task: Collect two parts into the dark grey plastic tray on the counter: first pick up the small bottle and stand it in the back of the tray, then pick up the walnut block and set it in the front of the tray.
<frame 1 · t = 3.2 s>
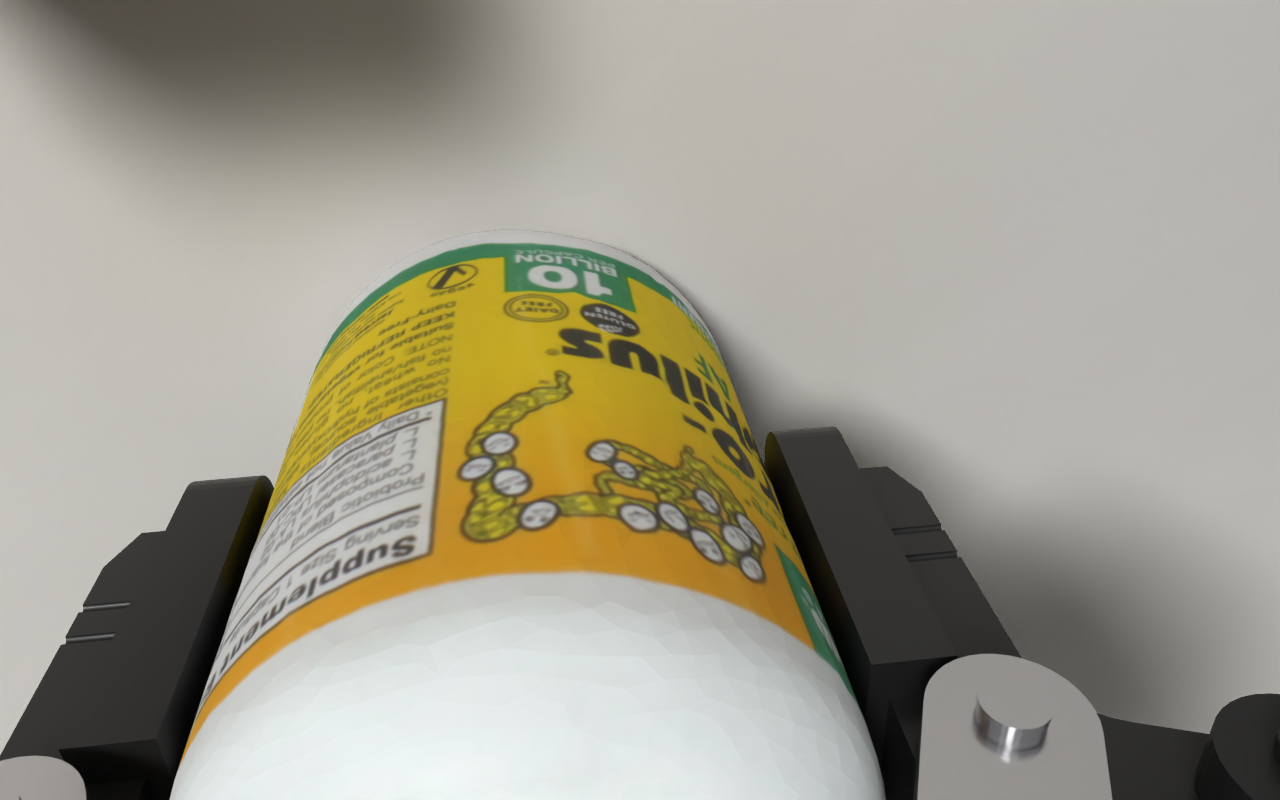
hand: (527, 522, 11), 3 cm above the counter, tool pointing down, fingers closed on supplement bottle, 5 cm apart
supplement bottle: (527, 400, 13), on the counter, touching gripper
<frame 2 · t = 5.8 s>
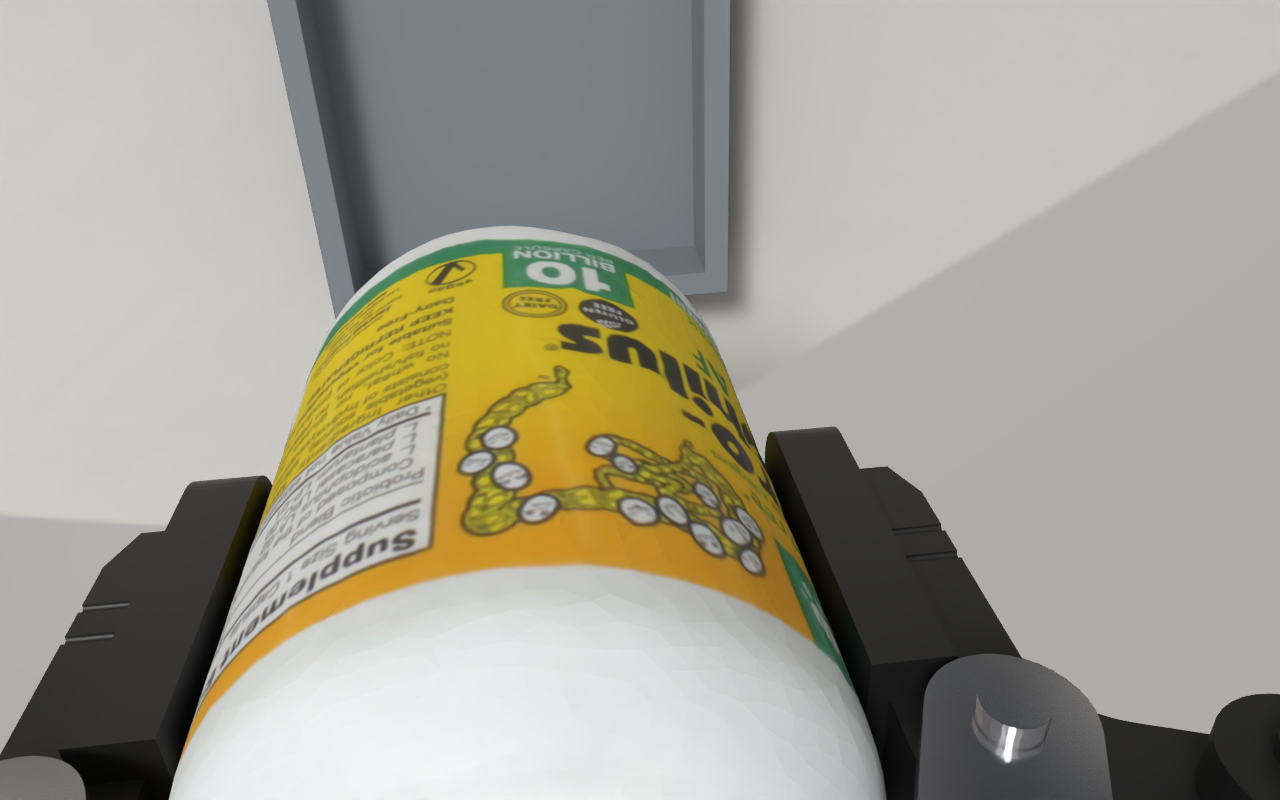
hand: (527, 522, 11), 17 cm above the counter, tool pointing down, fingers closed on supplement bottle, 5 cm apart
supplement bottle: (525, 396, 13), point 14 cm above the counter, touching gripper
when the fingers open (4 cm above the counter, at t = 8.7 s): supplement bottle stays where it is, resting on tray.
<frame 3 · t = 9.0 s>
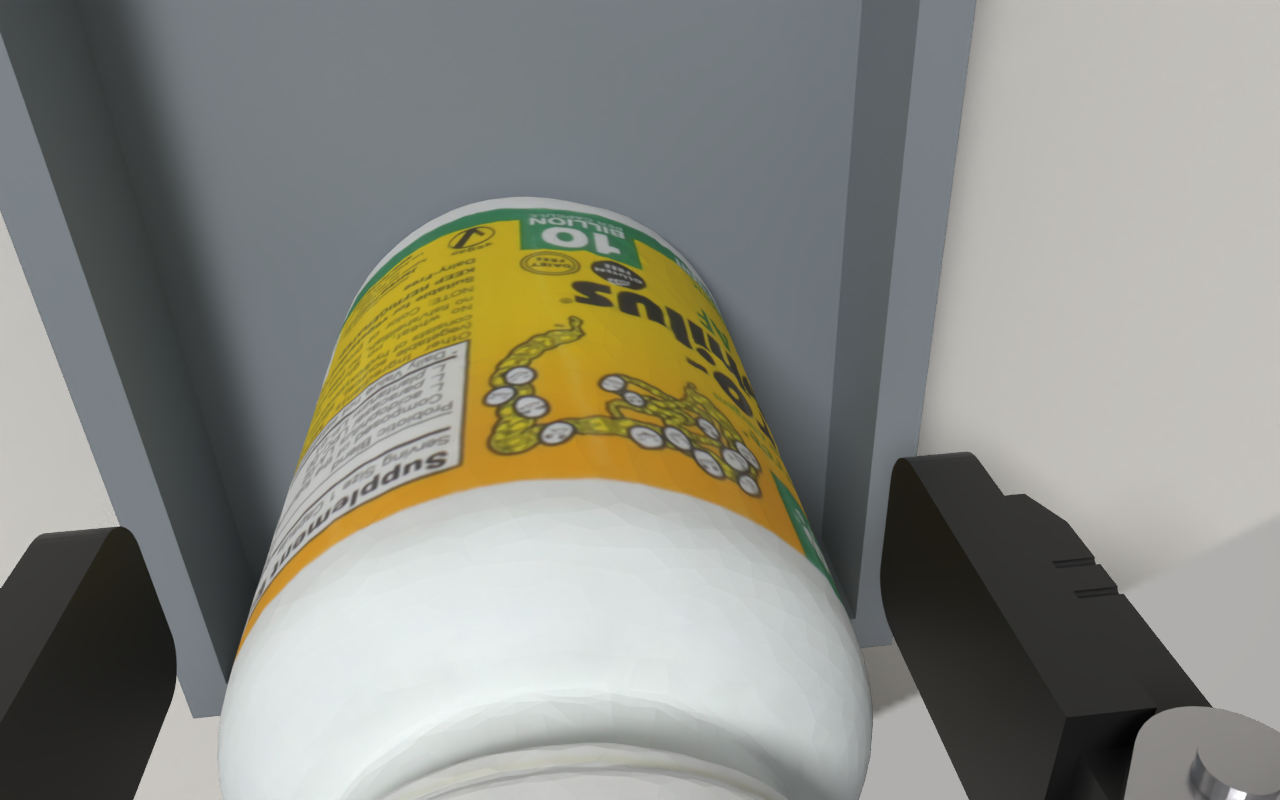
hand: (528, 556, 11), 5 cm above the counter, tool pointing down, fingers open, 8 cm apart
supplement bottle: (539, 361, 14), resting on tray
tray: (499, 113, 13), on the counter
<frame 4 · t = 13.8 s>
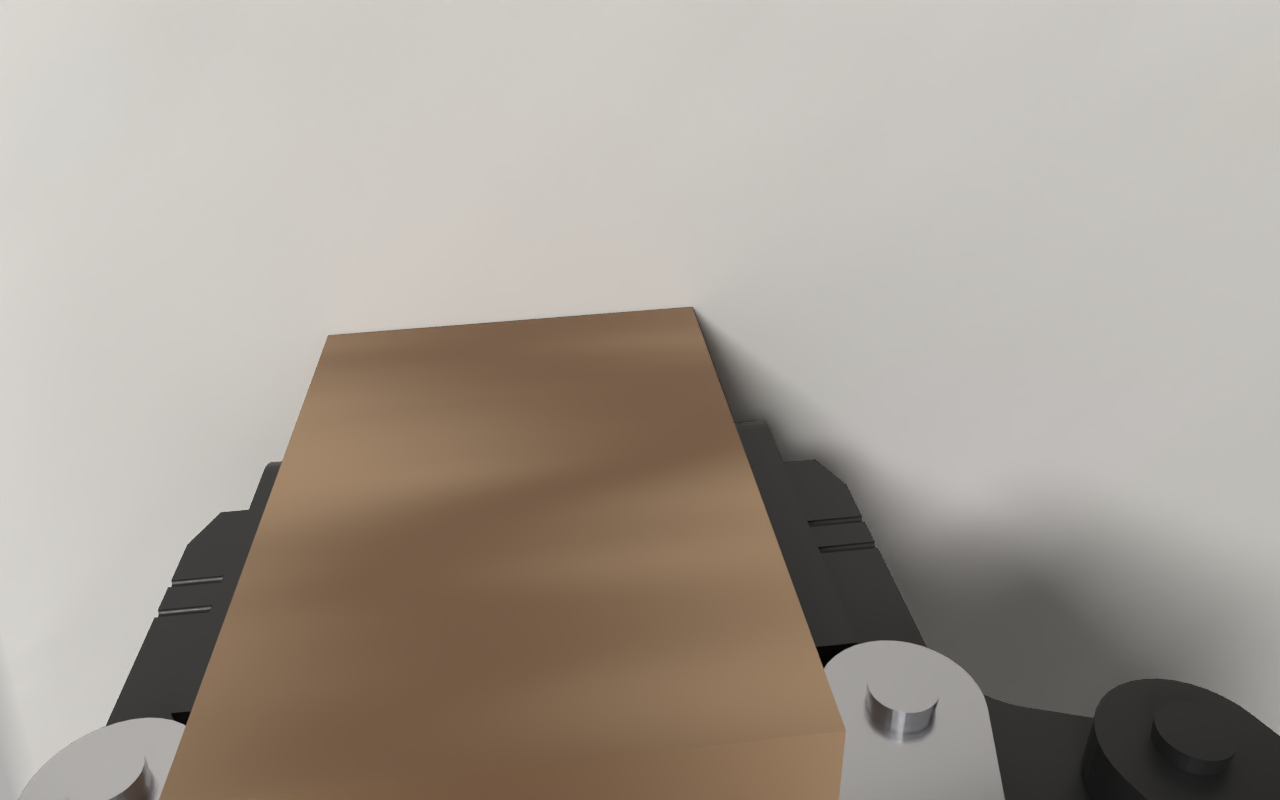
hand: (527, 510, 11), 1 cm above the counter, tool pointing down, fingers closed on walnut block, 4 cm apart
walnut block: (529, 470, 12), on the counter, touching gripper
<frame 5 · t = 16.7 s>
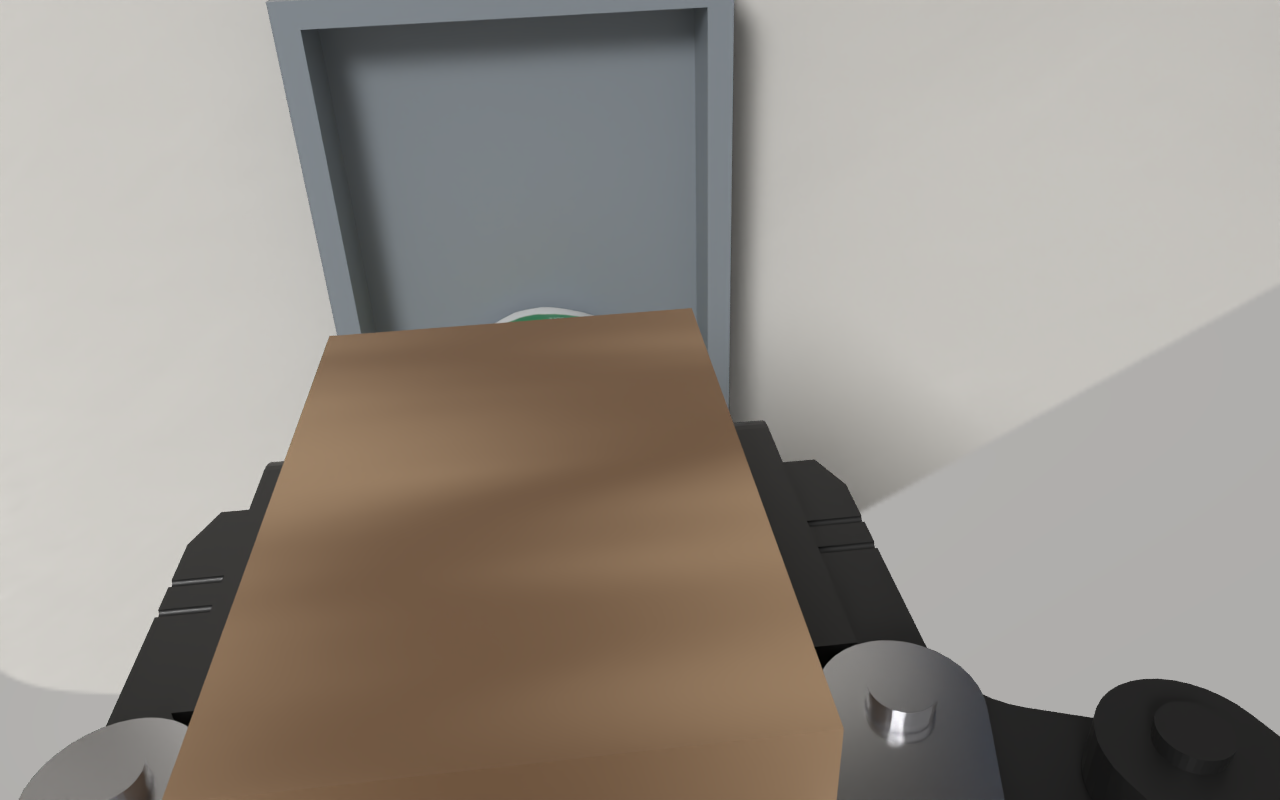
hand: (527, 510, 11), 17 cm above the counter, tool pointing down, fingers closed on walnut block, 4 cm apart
supplement bottle: (551, 380, 29), resting on tray
walnut block: (529, 470, 12), point 16 cm above the counter, touching gripper
tray: (533, 267, 28), on the counter
when the fingers open (3 cm above the counter, at t = 19.6 s): walnut block drops 1 cm, resting on tray.
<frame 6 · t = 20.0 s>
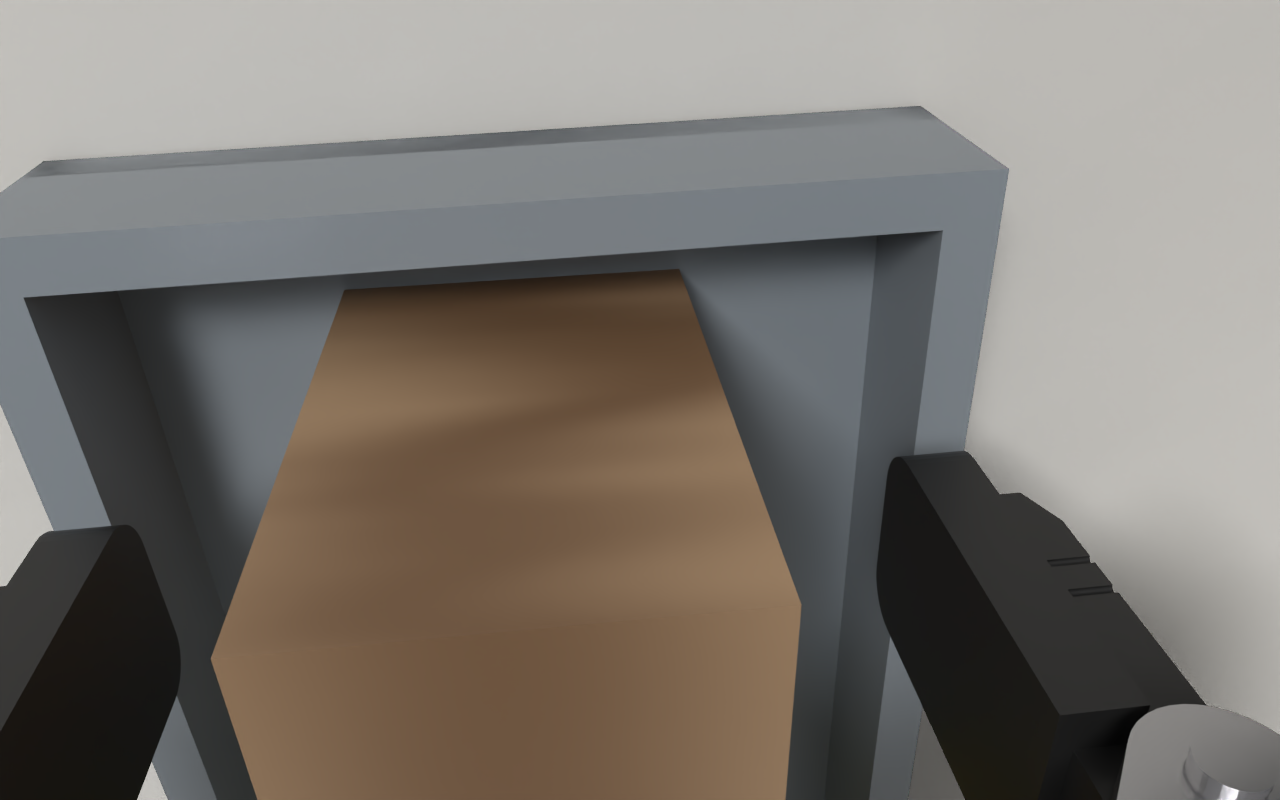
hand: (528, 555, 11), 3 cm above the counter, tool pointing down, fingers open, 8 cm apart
walnut block: (527, 420, 13), point 1 cm above the counter, touching tray
tray: (549, 618, 15), on the counter
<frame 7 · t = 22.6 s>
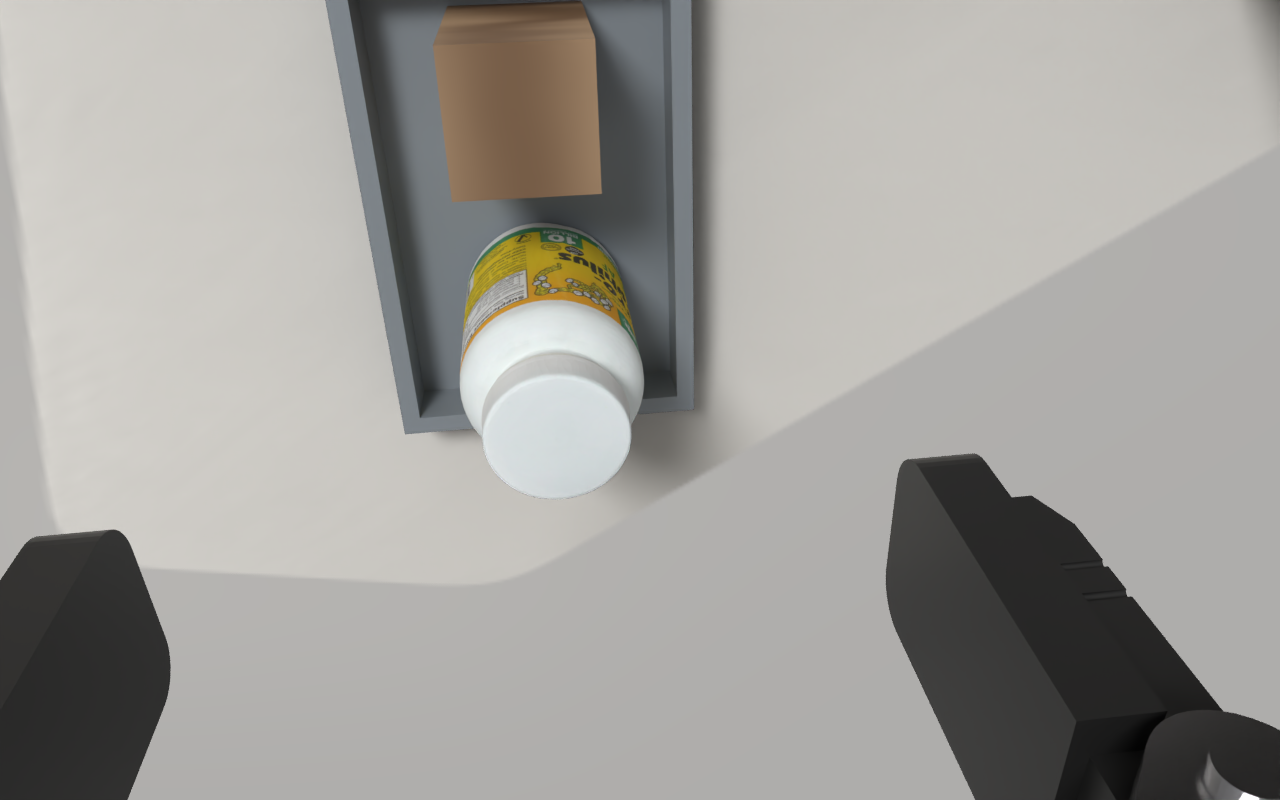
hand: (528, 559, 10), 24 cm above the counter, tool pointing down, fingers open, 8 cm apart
supplement bottle: (546, 289, 35), resting on tray
walnut block: (520, 72, 31), point 1 cm above the counter, touching tray
tray: (530, 190, 33), on the counter
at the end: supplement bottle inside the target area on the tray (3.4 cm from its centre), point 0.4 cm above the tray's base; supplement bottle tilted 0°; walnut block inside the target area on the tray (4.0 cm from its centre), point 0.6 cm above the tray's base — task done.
